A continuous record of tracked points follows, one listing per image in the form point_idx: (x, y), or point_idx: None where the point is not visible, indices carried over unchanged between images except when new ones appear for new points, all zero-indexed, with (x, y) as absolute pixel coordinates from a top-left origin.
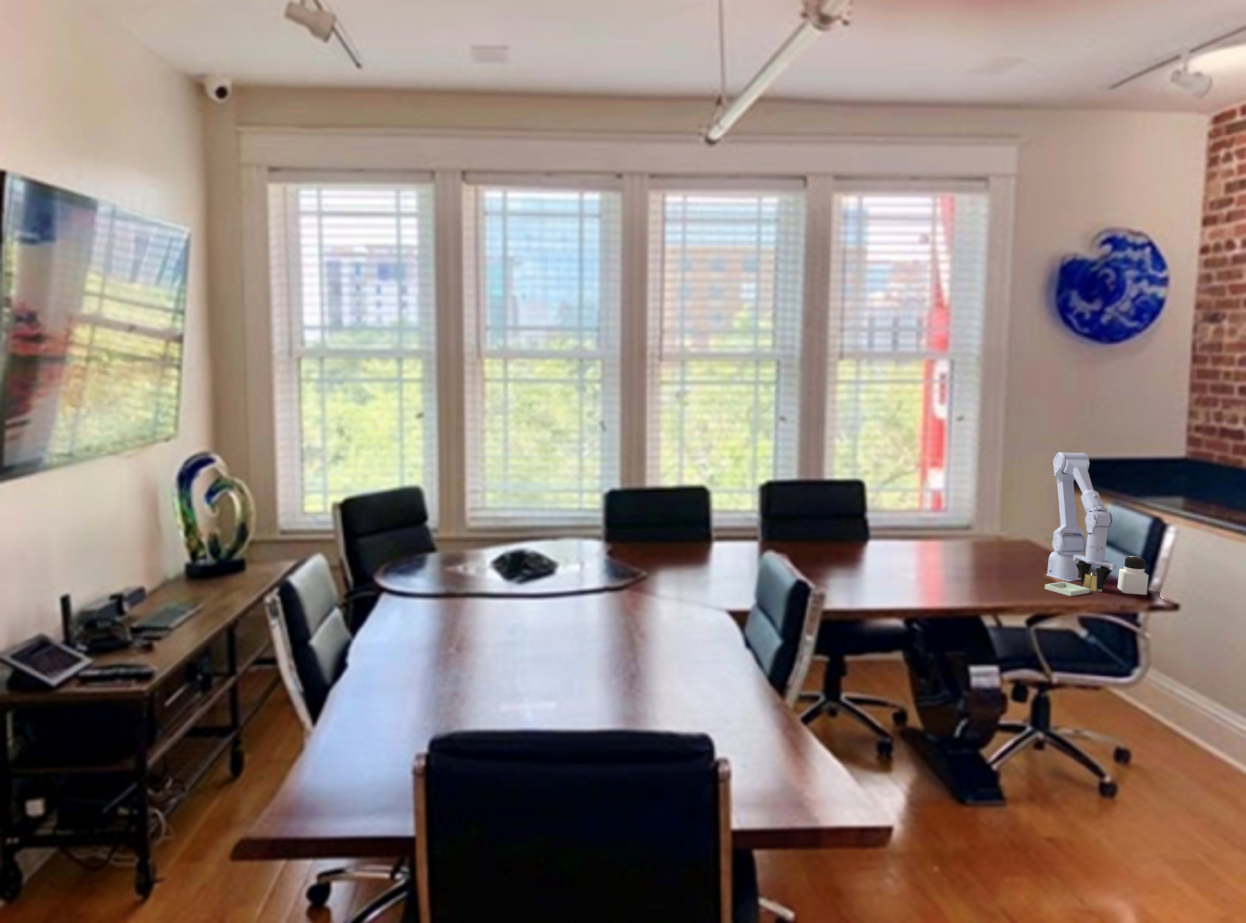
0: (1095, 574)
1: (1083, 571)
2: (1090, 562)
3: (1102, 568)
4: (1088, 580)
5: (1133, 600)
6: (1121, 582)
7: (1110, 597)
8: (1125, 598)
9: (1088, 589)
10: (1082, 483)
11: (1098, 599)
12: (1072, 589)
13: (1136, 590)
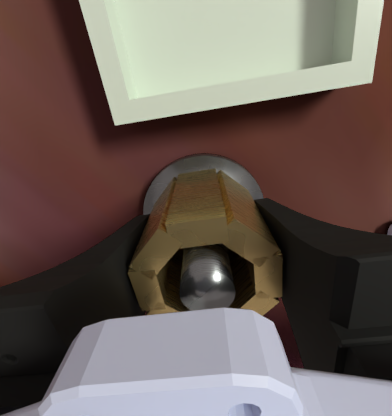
0: (180, 290)
1: (293, 250)
2: (70, 366)
3: (26, 369)
4: (190, 198)
5: (5, 272)
6: None
7: (60, 206)
8: (41, 264)
9: (111, 107)
10: None
11: (6, 84)
12: (236, 59)
13: None
